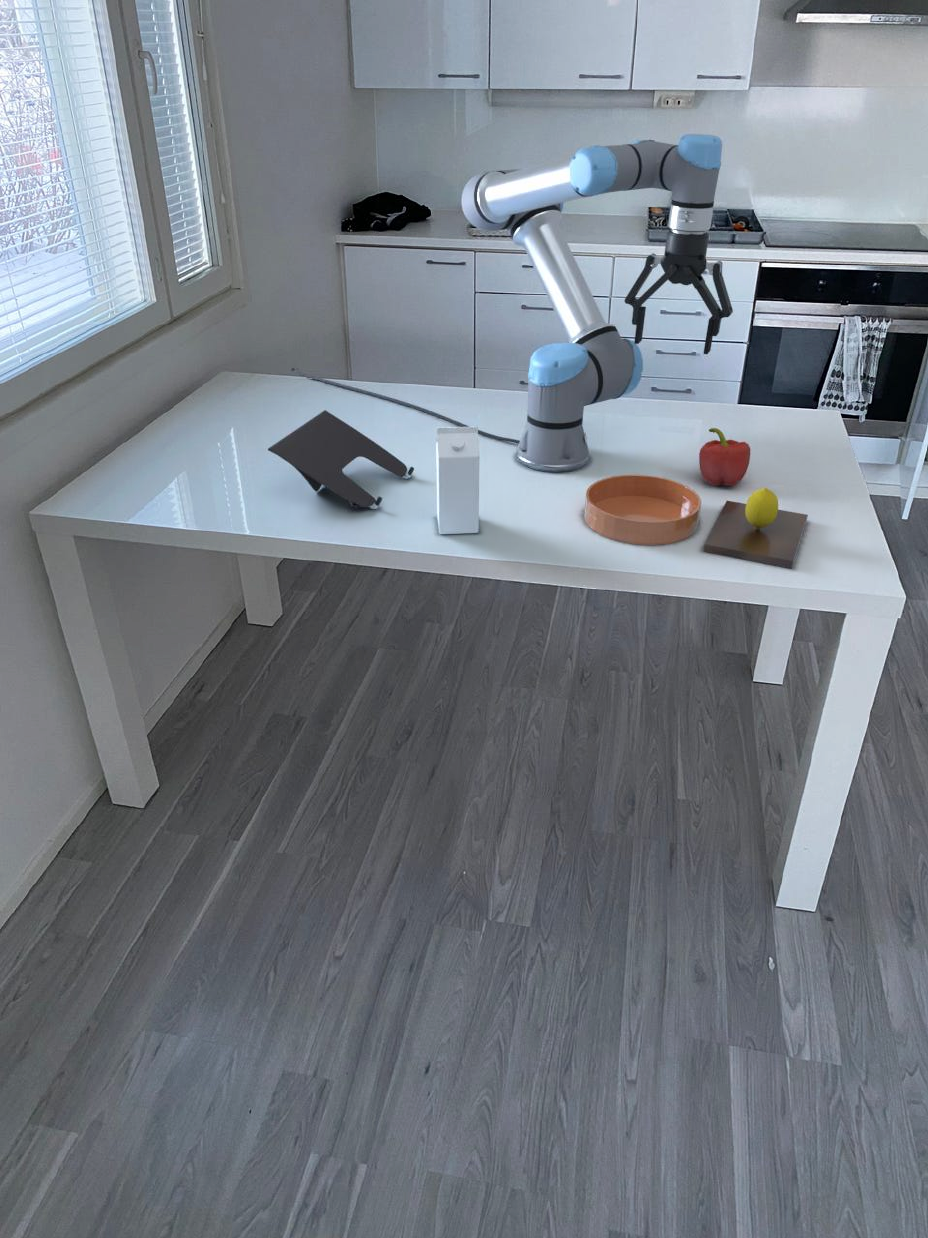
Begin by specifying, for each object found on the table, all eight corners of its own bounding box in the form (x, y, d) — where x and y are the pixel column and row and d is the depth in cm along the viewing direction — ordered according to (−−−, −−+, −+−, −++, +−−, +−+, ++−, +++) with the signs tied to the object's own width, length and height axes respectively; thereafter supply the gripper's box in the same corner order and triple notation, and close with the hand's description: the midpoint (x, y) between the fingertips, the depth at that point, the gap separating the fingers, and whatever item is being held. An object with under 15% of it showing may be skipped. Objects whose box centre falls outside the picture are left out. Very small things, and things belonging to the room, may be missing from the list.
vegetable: (682, 475, 193) (689, 429, 188) (724, 468, 197) (731, 422, 191) (714, 495, 184) (722, 447, 179) (757, 487, 188) (766, 440, 183)
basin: (569, 531, 171) (570, 509, 168) (603, 488, 187) (605, 467, 185) (683, 554, 164) (686, 531, 161) (708, 507, 180) (711, 485, 178)
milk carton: (437, 518, 175) (435, 420, 165) (474, 516, 176) (475, 419, 166) (439, 535, 169) (438, 435, 159) (478, 533, 170) (479, 434, 160)
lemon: (775, 537, 166) (783, 495, 162) (742, 534, 167) (750, 493, 163) (772, 523, 171) (780, 483, 166) (741, 520, 172) (748, 480, 167)
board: (703, 551, 164) (704, 543, 164) (725, 507, 180) (726, 500, 179) (791, 568, 159) (793, 561, 159) (806, 521, 175) (808, 514, 174)
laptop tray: (356, 542, 179) (373, 506, 174) (256, 477, 180) (271, 439, 174) (404, 495, 198) (421, 462, 192) (313, 436, 198) (328, 401, 193)
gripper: (616, 226, 171) (604, 342, 183) (754, 241, 163) (732, 362, 174) (628, 220, 177) (616, 332, 189) (762, 234, 168) (740, 351, 180)
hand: (671, 347), depth 181 cm, fingers open, 13 cm apart
